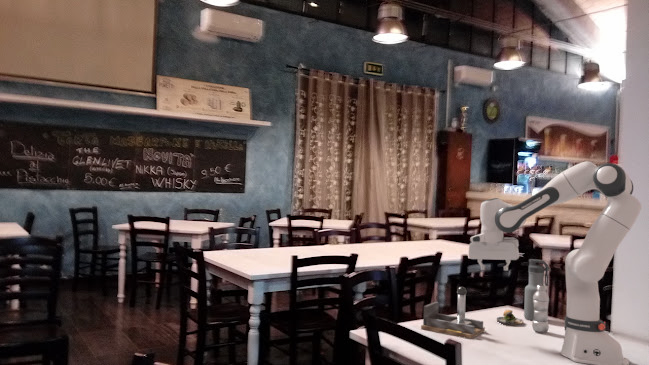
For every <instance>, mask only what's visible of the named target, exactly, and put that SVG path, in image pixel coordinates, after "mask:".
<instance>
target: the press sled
mask: <svg viewBox="0 0 649 365" xmlns="http://www.w3.org/2000/svg"><path fill="white" fill-rule="evenodd" d="M456 290H457V291H456V293H457V308H456V309H457V312H456V315H457V316H456V317H457V319H456V320H453V321H451V322H455V323H460V324H466V325H471V326H472V322H470V321H465V318H466V296H467V293H468V291H467V289H466V287H464V286H459V287H457V289H456Z"/></svg>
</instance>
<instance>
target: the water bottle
mask: <svg viewBox="0 0 649 365" xmlns="http://www.w3.org/2000/svg"><path fill="white" fill-rule="evenodd" d="M528 262H529V264H528V271H527V272H528V284H527V285H526V286H525V287H524V304H523V305H524V306H523V307H524V308H523V309H524V312H523V316H524V318H525V319H526V320H528V321H532V322H533V319H534V302H533V295H534V294H535V292H536V291H537V285H545V286H546V287H549V271H550V267H549V265H548V263H547V262H546V261H545V260H543V259H536V258H535V259H533V258H530V259H528ZM541 264H543V265H541ZM545 292H546V293H547V294H548V289H547V288H546V290H545Z"/></svg>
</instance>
